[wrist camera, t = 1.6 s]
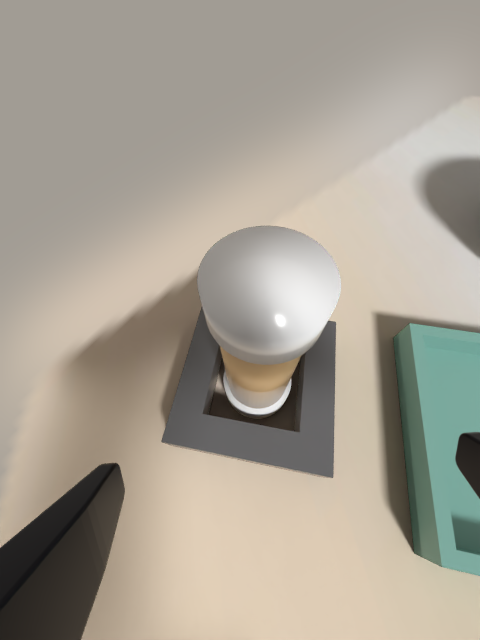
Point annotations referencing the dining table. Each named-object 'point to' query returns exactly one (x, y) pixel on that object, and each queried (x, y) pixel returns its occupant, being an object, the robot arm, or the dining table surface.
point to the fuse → (265, 310)
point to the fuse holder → (252, 439)
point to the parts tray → (440, 440)
